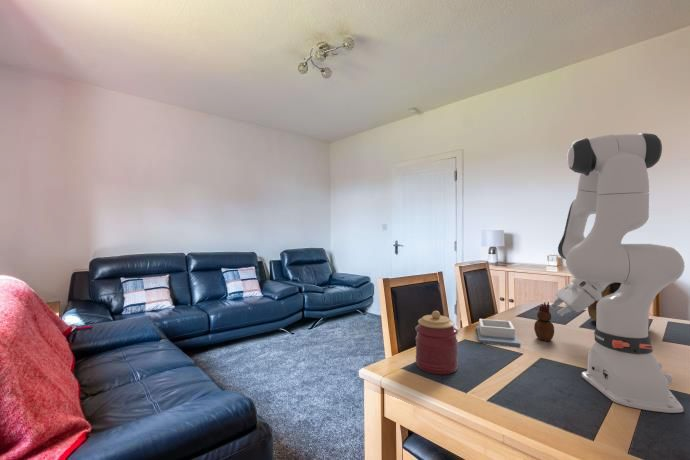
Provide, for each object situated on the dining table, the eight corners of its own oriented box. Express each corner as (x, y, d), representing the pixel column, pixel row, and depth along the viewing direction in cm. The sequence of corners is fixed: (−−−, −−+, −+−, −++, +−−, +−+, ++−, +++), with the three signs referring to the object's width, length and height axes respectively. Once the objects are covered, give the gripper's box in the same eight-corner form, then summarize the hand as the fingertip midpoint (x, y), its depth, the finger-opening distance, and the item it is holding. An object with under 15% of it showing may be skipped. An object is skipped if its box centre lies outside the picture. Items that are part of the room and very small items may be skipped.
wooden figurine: (557, 342, 122) (557, 303, 122) (541, 342, 122) (541, 303, 122) (546, 336, 129) (546, 299, 128) (531, 336, 129) (531, 299, 129)
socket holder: (520, 346, 118) (520, 333, 118) (479, 342, 123) (478, 330, 123) (512, 331, 135) (512, 320, 135) (476, 328, 140) (476, 317, 140)
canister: (465, 365, 103) (464, 310, 103) (445, 379, 94) (444, 319, 94) (429, 354, 112) (428, 304, 112) (407, 366, 103) (407, 311, 103)
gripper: (569, 276, 131) (542, 298, 134) (588, 285, 112) (555, 311, 115) (582, 287, 130) (554, 310, 133) (604, 299, 110) (570, 325, 114)
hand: (555, 310), depth 124 cm, fingers open, 8 cm apart
